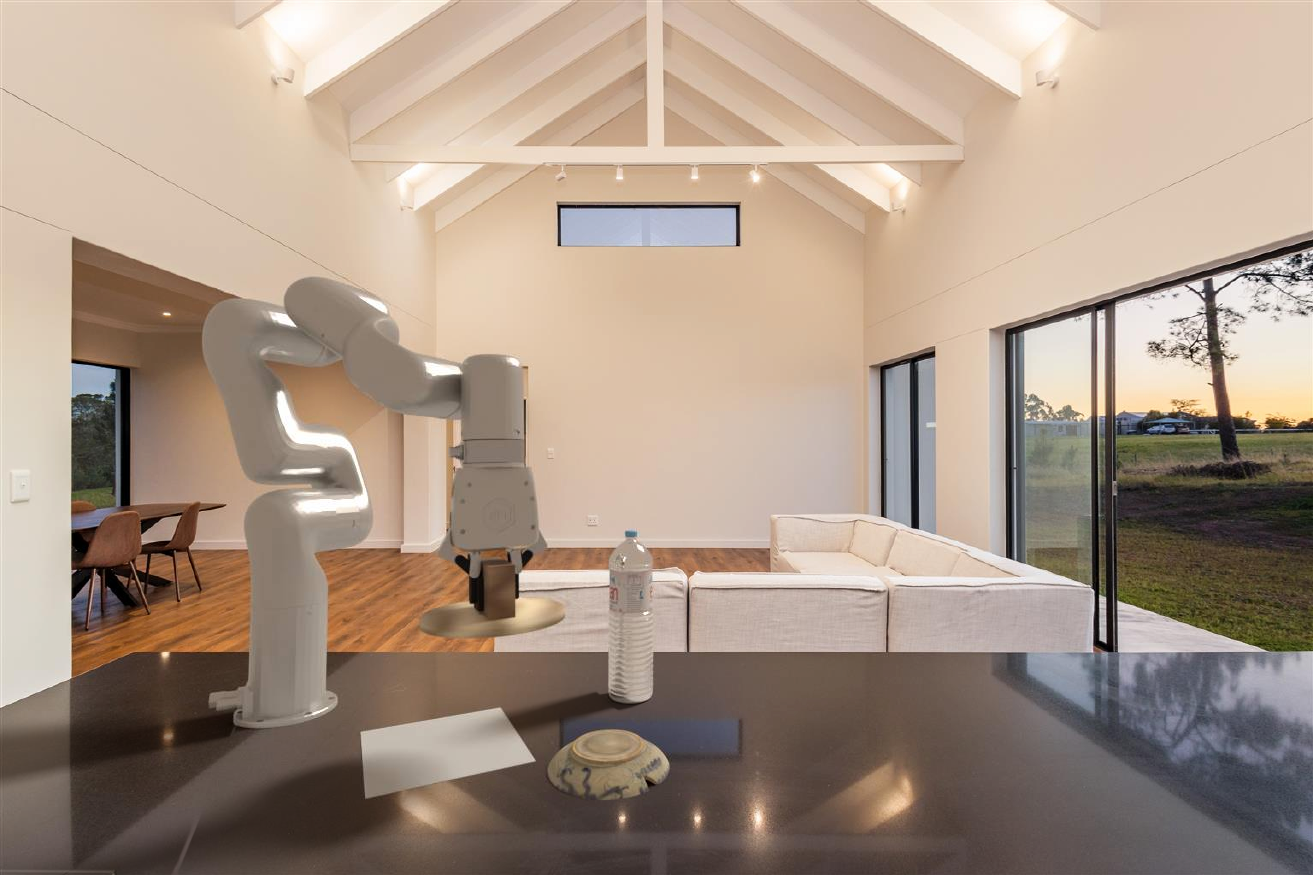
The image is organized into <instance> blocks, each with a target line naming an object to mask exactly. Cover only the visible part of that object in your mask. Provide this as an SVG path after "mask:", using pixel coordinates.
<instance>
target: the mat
mask: <svg viewBox="0 0 1313 875" xmlns="http://www.w3.org/2000/svg"><path fill="white" fill-rule="evenodd" d="M359 733H360V745H361V758H362V771H363V772H362V774H363V785H364V786H363V787H364V788H363V789H364V797H365V798H364V799H365V800H366V799H372V798H376V797H380V796H385V795H391V794H394V793H398V792H403V791H407V790H409V791H410V790H412V789H417V788H421V787H426V786H431V785H436V784H441V783H444V782H449V781H453V780H458V779H463V778H467V777H472V776H476V775H480V774H481V775H482V774H485V773H486V774H487V773H491V772H494V771H499V770H503V769H504V770H505V769H508V768H513V767H517V766H522V765H526V764H531V763H535V762H537V760H536V759H535V757H534V756H533V755H532V753H531V751H530V750H529V748H528V746H526V743H525V742H524V741H523V739H522V738H521V736H520V735H519V733H518V732H517V730H516V728H515V727H514V725H513V724H512V723H511V721H510V719H509V718H508V717H507V715H506V714H505V712H504V711H503V709H502V707H495V708H490V709H485V710H479V711H478V710H477V711H472V712H467V713H460V714H456V715H449V716H443V717H439V718H433V719H428V720H422V721H415V722H409V723H404V724H397V725H394V726H393V725H392V726H387V727H382V728H375V729H369V730H363V731H360V732H359Z"/></svg>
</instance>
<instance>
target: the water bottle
mask: <svg viewBox="0 0 1313 875" xmlns="http://www.w3.org/2000/svg"><path fill="white" fill-rule="evenodd" d="M624 535H625V536H624V537H625V540H624V541H622V542H621V543H620V544H619V545H618V546H617V547H616V548H615V549H614V550H613V551H612V553H611V554H610V556H609V558H608V569H609V590H608V591H609V593H608V594H609V597H608V599H609V601H608V602H609V603H608V604H609V605H608V607H609V609H608V637H607V638H608V641H607V642H608V651H607V652H608V653H607V654H608V659H607V660H608V661H607V662H608V666H607V667H608V668H607V669H608V673H607V674H608V681H607V682H608V683H607V686H608V696H609V697H610V699H611V700H612V701H615V702H617V703H620V704H629V705H631V704H639V703H644V702H646V701H648V700H649V699H651V698H652V695H653V693H654V609H653V569H654V558H653V556H652V554H651V552H650V551H649V550H648V548H647V547H646V546H645V545H644V544H643V543H641V542H640V541H638V540H637V538H638V531H637V530H634V529H631V530H630V529H629V530H625V531H624Z"/></svg>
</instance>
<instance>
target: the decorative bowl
mask: <svg viewBox="0 0 1313 875" xmlns="http://www.w3.org/2000/svg"><path fill="white" fill-rule="evenodd" d="M670 768H671V767H670V763H669V760H668V759H667V757H666V755H665V754H664V752H662V750H661V749H660V748H659V747H658V746H656V745H655V744H653V743H651V742H650V741H648V740H646V739H645V738H642V737H641V736H640V735H638V734H636V733H634V732H631V731H629V730H625V729H599V730H594V731H589V732H588V733H587V732H586V733H585V734H582V735H581V736H579V737H577V738H576V739H575V740H574V741H571V742H569V743H568V744H566V745H565V746H563V747H562V748H561V749H560V750H558V751H557V752H556V753H555V754H554V755H553V757H552V759H551V760H550V761H549V763H548V765H547V769H546V775H547V778H548V780H549V781H550V783H551V784H552V785H553V786H554V787H555V788H557V789H558V790H559V791H561V792H563V793H566V794H567V795H570V796H573V797H576V798H580V799H587V800H593V801H594V800H595V801H608V800H609V801H611V800H612V801H613V800H621V799H628V798H632V797H637V796H639V795H641V794H645V793H647V792H649V787H648V784H647V782H646V780H647V781H649V782H651V783H652V784H654V785H656V786H657V785H661V783H662V782H663V781H664V780H665V779H666V778H667V777H668V774H669V772H670Z"/></svg>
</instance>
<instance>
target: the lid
mask: <svg viewBox="0 0 1313 875" xmlns="http://www.w3.org/2000/svg"><path fill="white" fill-rule="evenodd" d="M480 571H481V572H482V577H483V579H484V610H483V611H481V612H478V611H477V610H476V609H475V608H474V604H470V603H469V600H467V601H460V602H455V603H450V604H446V605H442V606H441V605H440V606H438V607H435V608H431V609H430V610H427V611H425V612H423V613H422V614H421V615H420V616H419V617H418V629H419V630H420V632H422V633H423V634H426V635H429V636H432V637H438V638H439V637H440V638H447V639H488V638H489V639H490V638H499V637H508V636H515V635H517V636H518V635H523V634H527V633H532V632H536V631H540V630H543V629H547V628H549V627H553V626H555V625H557V624H559V623H561V622H562V621H563V620H564V619H565V618H566V608H565V607H566V606H565V605H564V604H563V603H562V602H560V601H556V600H554V599H550V598H549V599H548V598H541V597H525V596H523V597H521V596H519V599H515V565H514V564H512V563H510V562H508V561H507V559H504V558H502V557H501V556H487V557H481V567H480Z"/></svg>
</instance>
